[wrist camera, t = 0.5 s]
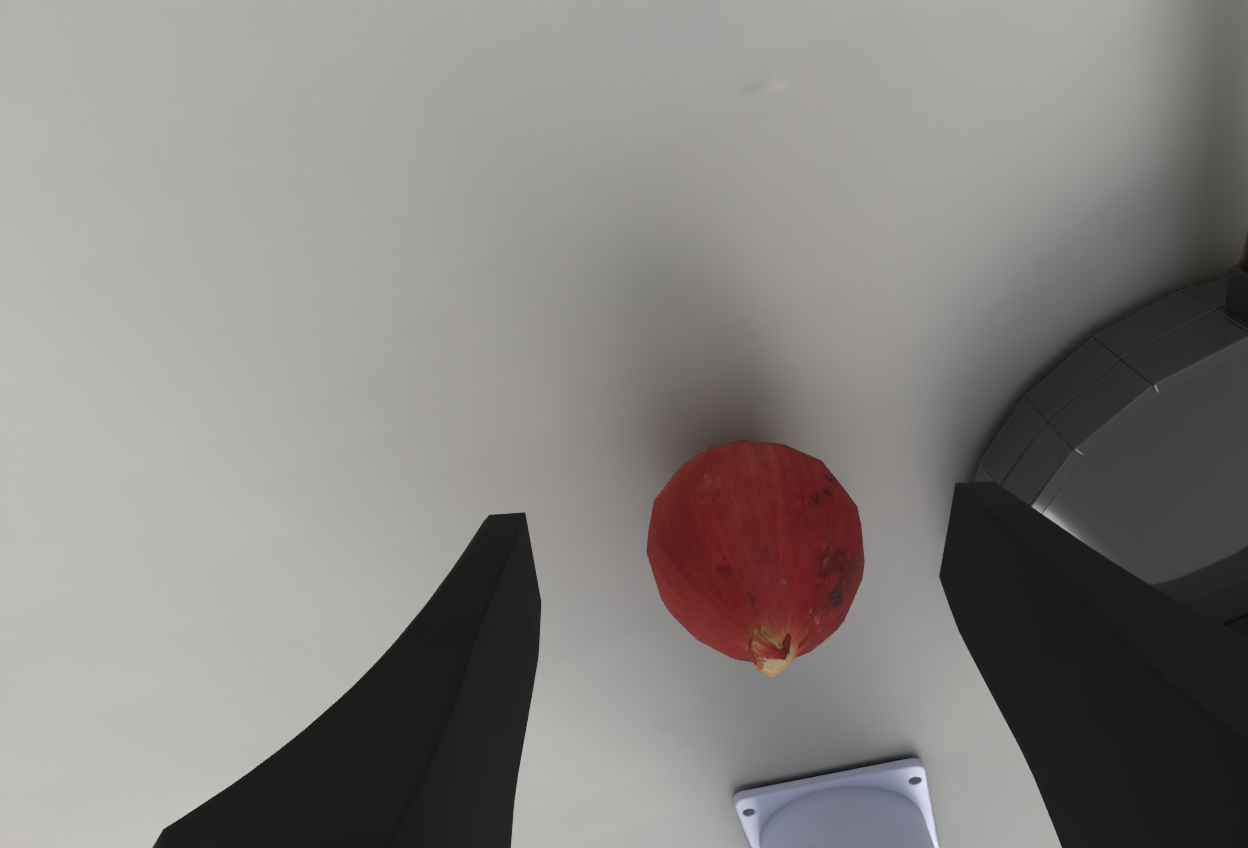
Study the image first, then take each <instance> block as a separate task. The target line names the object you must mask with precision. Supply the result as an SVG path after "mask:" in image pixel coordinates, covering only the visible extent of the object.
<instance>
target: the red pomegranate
mask: <svg viewBox="0 0 1248 848" xmlns="http://www.w3.org/2000/svg"><path fill="white" fill-rule="evenodd" d="M647 555H648V558H649V561H650V565H651V568H652V571H653V574H654V578H655V581H656V584H657V587H658V590H659V593H660V596H661V599H662V601H663V602H664V604H665V605H666V607H667V609H668V610H669V612H670V613H671V614H672V615H673V616H674V617H675V618H676V619H677V620H678V621H679V622H680V623H681V624H682V625H683V626H684V627H685V628H686V629H687V631H688V632H690V633H691V634H692V635H693V636H694V637H695V638H696V639H697V640H699V641H701V642H702V643H704V644H706V645H708V646H710V647H712V648H713V649H715V650H717V651H719V652H721V653H723V654H725V655H727V656H729V657H731V658H734V659H737V660H742V661H750V662H751V663H752V664H753V665H754V666H755V668H756V669H757V670H758V671H760V672H763V673H766V674H767V675H768V676H769V677H772V676H775V675H778V674H779V673H780V672H781V671H782V670H784V669H785V668H786V667H788V665H789V664H790V663H791V662H792V661H793V660H794V658H796V657H798V656H801V655H803V654H806V653H808V652H811V651H812V650H813V649H815V648H816V647H817V646H818V645H820V644H821V643H822V642H823V641H825V640H826V639H827V638H828V637H829V636H831V635H832V634H833V633H834V632H835V631H836V630H837V629H838V628H839V626H840V625H841V624H842V623H843V621H844V620H845V617H846V615H847V613H848V611H849V608H850V606H851V604H852V602H853V599H854V597H855V595H856V592H857V590H858V588H859V585H860V583H861V581H862V577H863V570H864V563H865V562H864V551H863V540H862V529H861V522H860V518H859V513H858V509H857V506H856V504H855V503H854V502H853V500H852V499H851V498H850V496H849V495H848V493H847V492H846V491H845V489H844V488H843V487H842V486H841V484H840V483H839V482H838V481H837V479H836V478H835V477H834V476H833V474H832V473H831V472H830V471H829V469H828V468H827V467H826V466H825V465H824V463H823V462H822V461H821V460H819V459H816V458H814V457H812V456H809V455H807V454H805V453H802V452H800V451H798V450H796V449H793V448H791V447H789V446H786V445H782V444H777V443H767V442H756V441H745V440H742V441H737V442H733V443H728V444H723V445H718V446H714V447H711V448H709V449H707V450H706V451H704V452H702V453H701V454H699V455H697V456H696V457H694V458H692V459H691V460H689V461H687V462H686V463H684V464H683V465H682V466H681V468H680V469H679V470H678V471H677V472H676V473H675V474H674V476H673V477H672V478H671V479H670V481H669V482H668V483H667V485H666V486H665V487H664V489H663V490H662V491H661V492H660V494H659V495H658V496H657V498H656V499H655V500H654V505H653V510H652V515H651V520H650V526H649V531H648V542H647Z"/></svg>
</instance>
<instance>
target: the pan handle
mask: <svg viewBox="0 0 1248 848" xmlns="http://www.w3.org/2000/svg"><path fill="white" fill-rule="evenodd" d="M1225 310H1226V311H1228V312H1230V313H1232V314H1233V315H1235V316H1237V317H1238V318H1240V319H1242V320H1243V321H1245V322H1247V323H1248V232H1247V236H1246V240H1245V244H1244V248H1243V252H1242V256H1241V260H1240V263H1238V264H1235V265H1231V266H1229V268H1228V278H1227V288H1226V299H1225Z"/></svg>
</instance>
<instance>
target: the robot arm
mask: <svg viewBox="0 0 1248 848" xmlns="http://www.w3.org/2000/svg"><path fill="white" fill-rule="evenodd" d="M939 577H940V580H941V583H942V586H943V589H944V592H945V595H946V597H947V600H948V603H949V606H950V609H951V611H952V614H953V617H954V619H955V622H956V625H957V627H958V630H959V632H960V634H961V636H962V638H963V640H964V642H965V644H966V646H967V648H968V650H969V652H970V654H971V656H972V658H973V660H974V661H975V663H976V665H977V667H978V669H979V671H980V673H981V675H982V677H983V679H984V681H985V682H986V684H987V686H988V688H989V690H990V692H991V694H992V696H993V698H994V699H995V701H996V703H997V705H998V707H999V709H1000V711H1001V713H1002V715H1003V717H1004V718H1005V720H1006V722H1007V724H1008V726H1009V728H1010V730H1011V732H1012V734H1013V735H1014V737H1015V739H1016V741H1017V743H1018V745H1019V747H1020V749H1021V751H1022V753H1023V755H1024V757H1025V759H1026V761H1027V763H1028V765H1029V768H1030V770H1031V772H1032V774H1033V776H1034V778H1035V781H1036V783H1037V786H1038V788H1039V791H1040V793H1041V796H1042V798H1043V801H1044V803H1045V806H1046V808H1047V811H1048V813H1049V816H1050V818H1051V821H1052V823H1053V826H1054V828H1055V831H1056V833H1057V835H1058V838H1059V841H1060V843H1061V846H1062V848H1248V637H1246V636H1244V635H1241V634H1239V633H1237V632H1236V631H1234V630H1232V629H1230V628H1228V627H1226V626H1224V625H1222V624H1220V623H1218V622H1216V621H1214V620H1212V619H1211V618H1209V617H1207V616H1205V615H1203V614H1201V613H1199V612H1197V611H1195V610H1193V609H1191V608H1190V607H1188V606H1186V605H1184V604H1182V603H1181V602H1179V601H1177V600H1175V599H1173V598H1172V597H1170V596H1168V595H1166V594H1165V593H1163V592H1161V591H1160V590H1158V589H1156V588H1155V587H1153V586H1151V585H1150V584H1148V583H1146V582H1145V581H1143V580H1141V579H1140V578H1138V577H1136V576H1135V575H1133V574H1131V573H1130V572H1128V571H1127V570H1125V569H1124V568H1122V567H1120V566H1119V565H1117V564H1116V563H1114V562H1112V561H1111V560H1109V559H1108V558H1106V557H1105V556H1103V555H1102V554H1100V553H1099V552H1097V551H1096V550H1094V549H1093V548H1091V547H1090V546H1088V545H1087V544H1085V543H1084V542H1082V541H1081V540H1079V539H1078V538H1076V537H1075V536H1073V535H1072V534H1070V533H1069V532H1067V531H1066V530H1064V529H1063V528H1062V527H1060V526H1059V525H1057V524H1056V523H1054V522H1053V521H1051V520H1050V519H1049V518H1047V517H1046V516H1044V515H1043V514H1041V513H1040V512H1039V511H1037V510H1036V509H1034V508H1033V507H1031V506H1030V505H1028V504H1027V503H1026V502H1024V501H1023V500H1021V499H1020V498H1018V497H1017V496H1015V495H1014V494H1012V493H1011V492H1009V491H1008V490H1006V489H1005V488H1003V487H1002V486H1000V485H999V484H997V483H995V482H994V481H985V482H970V483H956V484H955V490H954V496H953V501H952V507H951V513H950V519H949V524H948V530H947V536H946V541H945V547H944V553H943V559H942V564H941V570H940V576H939ZM540 618H541V598H540V593H539V587H538V581H537V576H536V570H535V565H534V559H533V554H532V548H531V542H530V537H529V531H528V526H527V520H526V515H525V513H511V514H496V515H489V516H488V517H487V518H486V519H485V520H484V522H483V523H482V525H481V526H480V528H479V529H478V531H477V533H476V534H475V536H474V537H473V539H472V540H471V542H470V543H469V545H468V546H467V548H466V549H465V551H464V552H463V554H462V555H461V557H460V558H459V560H458V561H457V563H456V564H455V565H454V567H453V568H452V570H451V571H450V573H449V574H448V575H447V577H446V578H445V579H444V581H443V582H442V583H441V585H440V586H439V588H438V589H437V590H436V592H435V593H434V594H433V596H432V597H431V598H430V600H429V601H428V602H427V604H426V605H425V606H424V608H423V609H422V610H421V611H420V612H419V614H418V615H417V616H416V617H415V618H414V620H413V621H412V622H411V623H410V625H409V626H408V627H407V628H406V629H405V631H404V632H403V633H402V634H401V635H400V637H399V638H398V639H397V640H396V641H395V642H394V644H393V645H392V646H391V647H390V648H389V649H388V650H387V651H386V653H385V654H384V655H383V656H382V657H381V658H380V659H379V660H378V661H377V662H376V663H375V664H374V665H373V667H372V668H371V669H370V670H369V671H368V672H367V673H366V674H365V675H364V676H363V677H362V678H361V679H360V680H359V681H358V682H357V683H356V684H355V685H354V686H353V687H352V688H351V689H350V690H348V691H347V692H346V693H345V694H344V695H343V696H342V697H341V698H340V699H339V700H338V701H337V702H335V703H334V704H333V705H332V706H331V707H330V708H329V709H327V710H326V711H325V712H324V713H323V714H322V715H321V716H320V717H318V718H317V719H316V720H315V721H314V722H313V723H312V724H311V725H309V726H308V727H307V728H306V729H305V730H304V731H302V732H301V733H300V734H299V735H297V736H296V737H295V738H294V739H292V740H291V741H290V742H289V743H287V744H286V745H285V746H284V747H282V748H281V749H280V750H278V751H277V752H276V753H275V754H273V755H272V756H271V757H269V758H268V759H267V760H265V761H264V762H263V763H261V764H260V765H258V766H257V767H256V768H254V769H253V770H252V771H250V772H249V773H248V774H246V775H245V776H243V777H242V778H241V779H239V780H238V781H236V782H235V783H234V784H232V785H231V786H229V787H228V788H226V789H225V790H223V791H222V792H220V793H219V794H217V795H216V796H214V797H213V798H211V799H210V800H208V801H207V802H205V803H203V804H202V805H200V806H199V807H197V808H196V809H194V810H193V811H191V812H190V813H188V814H187V815H185V816H184V817H182V818H181V819H179V820H178V821H176V822H174V823H173V824H171V825H170V826H168V827H166V828H165V829H163V831H162V833H161V834H160V836H159V838H158V839H157V841H156V843H155V844H154V846H153V848H511V836H512V823H513V810H514V800H515V793H516V785H517V778H518V772H519V766H520V760H521V755H522V749H523V743H524V738H525V732H526V726H527V720H528V715H529V709H530V703H531V698H532V692H533V686H534V680H535V674H536V668H537V662H538V655H539V638H540ZM733 800H734V807H735V809H736V812H737V814H738V817H739V819H740V822H741V824H742V827H743V829H744V832H745V834H746V837H747V839H748V842H749V844H750V847H751V848H940V847H939V842H938V836H937V831H936V825H935V820H934V814H933V809H932V803H931V798H930V792H929V786H928V781H927V775H926V770H925V767H924V765H923V763H922V761H921V760H919V759H916V758H908V759H903V760H898V761H893V762H888V763H882V764H877V765H872V766H867V767H862V768H857V769H852V770H847V771H841V772H836V773H831V774H826V775H821V776H816V777H811V778H806V779H801V780H795V781H790V782H785V783H780V784H775V785H770V786H765V787H760V788H755V789H749V790H744V791H740V792H738V793H737V794H735V796H734V797H733Z"/></svg>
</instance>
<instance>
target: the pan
mask: <svg viewBox="0 0 1248 848" xmlns="http://www.w3.org/2000/svg"><path fill="white" fill-rule="evenodd" d="M1227 278H1228V277H1226V278H1222V279H1218V280H1215V281H1211V282H1207V283H1203V284H1200V285H1196V286H1192V287H1189V288H1185V289H1182V290H1181V291H1180V290H1178V291H1176V292H1174V293H1172V294H1170V295H1168V296H1166V297H1164V298H1162V299H1161V300H1159V301H1157V302H1155V303H1153V304H1151V305H1149V306H1148V307H1146V308H1144V309H1142V310H1140V311H1138V312H1136V313H1135V314H1133V315H1131V316H1129V317H1127V318H1125V319H1123V320H1121V321H1120V322H1118V323H1116V324H1114V325H1112V326H1110V327H1108V328H1107V329H1105V330H1103V331H1101V332H1099V333H1097V334H1095V335H1094V336H1093V337H1091V338H1090V339H1089V340H1088V341H1086V342H1085V343H1084V344H1083V345H1082V346H1081V347H1080V348H1078V349H1077V350H1076V351H1075V352H1074V353H1073V354H1071V355H1070V356H1069V357H1068V358H1067V359H1066V360H1065V361H1063V362H1062V363H1061V364H1060V365H1059V366H1058V367H1057V368H1055V369H1054V370H1053V371H1052V372H1051V373H1050V374H1049V375H1047V376H1046V377H1045V378H1044V379H1043V380H1042V381H1041V382H1039V383H1038V384H1037V385H1036V386H1035V387H1034V388H1033V389H1031V390H1030V391H1029V392H1028V393H1027V394H1026V395H1025V396H1024V397H1023V398H1022V399H1021V401H1020V402H1019V404H1018V405H1017V407H1016V408H1015V409H1014V411H1013V412H1012V414H1011V415H1010V417H1009V418H1008V420H1007V421H1006V423H1005V424H1004V425H1003V427H1002V428H1001V430H1000V431H999V433H998V434H997V436H996V437H995V439H994V440H993V442H992V443H991V444H990V446H989V447H988V449H987V450H986V452H985V453H984V455H983V456H982V458H981V461H980V463H979V466H978V470H977V473H976V476H975V480H974V482H985V481H994V482H995V483H997V484H999V485H1000V486H1002V487H1003V488H1005V489H1006V490H1008V491H1009V492H1011V493H1012V494H1014V495H1015V496H1017V497H1018V498H1020V499H1021V500H1023V501H1024V502H1026V503H1027V504H1028V505H1030V506H1031V507H1033V508H1034V509H1036V510H1037V511H1039V512H1040V513H1041V514H1043V515H1044V516H1046V517H1047V518H1049V519H1050V520H1051V521H1053V522H1054V523H1056V524H1057V525H1059V526H1060V527H1062V528H1063V529H1064V530H1066V531H1067V532H1069V533H1070V534H1072V535H1073V536H1075V537H1076V538H1078V539H1079V540H1081V541H1082V542H1084V543H1085V544H1087V545H1088V546H1090V547H1091V548H1093V549H1094V550H1096V551H1097V552H1099V553H1100V554H1102V555H1103V556H1105V557H1106V558H1108V559H1109V560H1111V561H1112V562H1114V563H1116V564H1117V565H1119V566H1120V567H1122V568H1124V569H1125V570H1127V571H1128V572H1130V573H1131V574H1133V575H1135V576H1136V577H1138V578H1140V579H1141V580H1143V581H1145V582H1146V583H1148V584H1150V585H1151V586H1153V587H1155V588H1156V589H1158V590H1160V591H1161V592H1163V593H1165V594H1166V595H1168V596H1170V597H1172V598H1173V599H1175V600H1177V601H1179V602H1181V603H1182V604H1184V605H1186V606H1188V607H1190V608H1191V609H1193V610H1195V611H1197V612H1199V613H1201V614H1203V615H1205V616H1207V617H1209V618H1211V619H1212V620H1214V621H1216V622H1218V623H1220V624H1222V625H1224V626H1226V627H1228V628H1230V629H1232V630H1234V631H1236V632H1237V633H1239V634H1241V635H1244V636H1246V637H1248V323H1247V322H1245V321H1243V320H1242V319H1240V318H1238V317H1237V316H1235V315H1233V314H1232V313H1230V312H1228V311H1226V310H1225V299H1226V288H1227Z"/></svg>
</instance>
